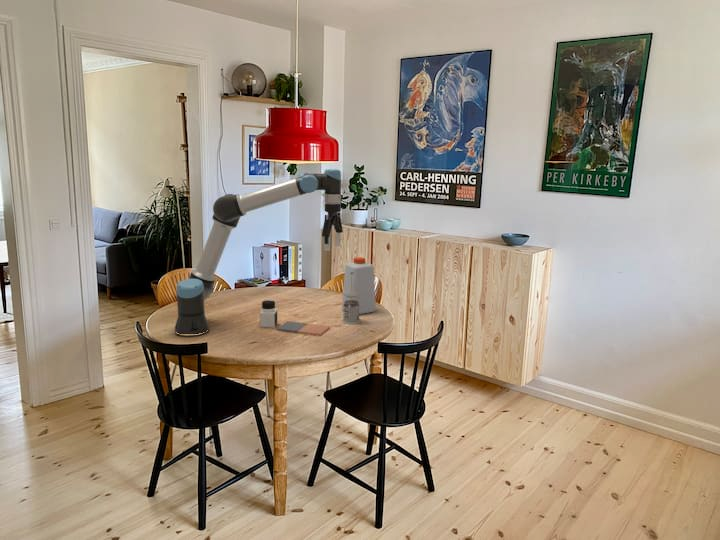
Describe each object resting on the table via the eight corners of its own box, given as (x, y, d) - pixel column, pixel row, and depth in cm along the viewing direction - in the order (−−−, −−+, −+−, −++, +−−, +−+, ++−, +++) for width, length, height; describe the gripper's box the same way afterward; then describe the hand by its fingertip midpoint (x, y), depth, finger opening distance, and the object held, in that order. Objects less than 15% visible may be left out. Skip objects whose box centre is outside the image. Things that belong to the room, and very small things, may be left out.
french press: (343, 324, 262) (344, 274, 257) (338, 317, 273) (338, 269, 268) (363, 323, 265) (364, 273, 260) (357, 316, 276) (357, 268, 271)
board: (320, 336, 246) (320, 333, 245) (276, 330, 252) (276, 328, 252) (330, 328, 257) (330, 326, 257) (287, 323, 264) (287, 321, 263)
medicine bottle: (275, 327, 257) (274, 303, 254) (259, 327, 257) (259, 302, 254) (277, 323, 264) (277, 299, 261) (262, 322, 264) (262, 298, 261)
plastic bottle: (362, 305, 297) (363, 254, 291) (378, 312, 284) (379, 259, 278) (339, 309, 289) (339, 257, 283) (354, 316, 276) (354, 262, 270)
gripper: (330, 205, 240) (330, 253, 244) (349, 201, 263) (349, 244, 268) (314, 205, 242) (314, 252, 247) (334, 200, 265) (334, 243, 270)
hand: (332, 248), depth 257 cm, fingers open, 13 cm apart
